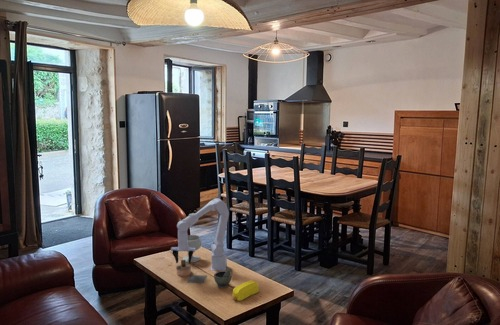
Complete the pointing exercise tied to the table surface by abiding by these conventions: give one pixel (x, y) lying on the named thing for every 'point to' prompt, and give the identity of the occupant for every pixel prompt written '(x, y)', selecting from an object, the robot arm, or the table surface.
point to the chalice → (195, 243)
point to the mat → (196, 279)
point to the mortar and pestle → (223, 278)
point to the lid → (183, 265)
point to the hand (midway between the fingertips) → (183, 262)
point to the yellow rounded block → (245, 290)
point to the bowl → (183, 272)
